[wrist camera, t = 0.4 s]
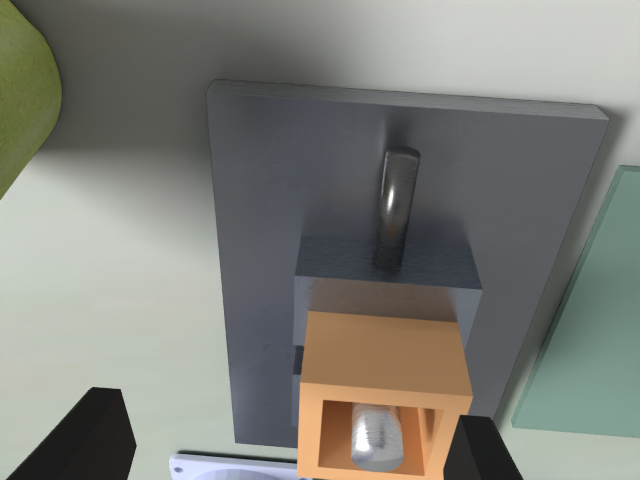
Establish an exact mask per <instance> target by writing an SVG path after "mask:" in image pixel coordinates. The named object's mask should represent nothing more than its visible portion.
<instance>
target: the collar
mask: <svg viewBox="0 0 640 480" xmlns="http://www.w3.org/2000/svg"><path fill="white" fill-rule="evenodd" d="M472 399H473V393H472V388H471V383H470V379H469V374H468V369H467V364H466V360H465V355H464V350H463V345H462V341H461V336H460V331H459V326H458V323H456V322H444V321H431V320H418V319H405V318H392V317H379V316H367V315H354V314H341V313H328V312H315V311H309V312H308V320H307V329H306V337H305V346H304V354H303V363H302V371H301V379H300V401H299V429H298V458H297V477H307V478H319V479H330V480H444V478H443V468H444V465H445V462H446V458H447V455H448V452H449V448H450V445H451V442H452V439H453V435H454V432H455V429H456V425H457V422H458V419H459V416H460V415H467V414H468V411H469V408H470V405H471V402H472ZM352 402H357V403H369V404H382V405H394V406H400V413H401V427H402V441H403V455H404V460H403V462H402V464H401V465H400V466H399V467H397V468H396V469H393V470H391V471H386V472H371V471H366V470H363V469H361V468H359V467H358V466H356V465H355V464H354V463H353V461H352V458H351V450H352Z"/></svg>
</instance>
